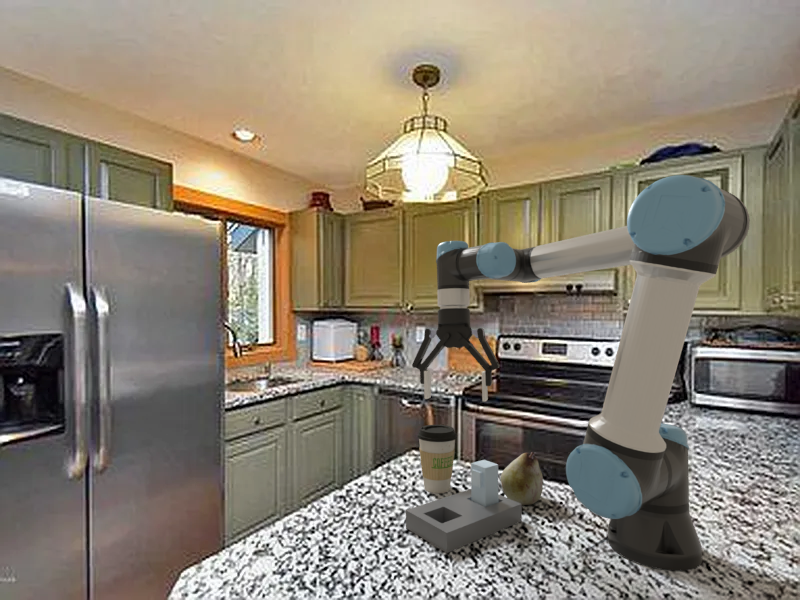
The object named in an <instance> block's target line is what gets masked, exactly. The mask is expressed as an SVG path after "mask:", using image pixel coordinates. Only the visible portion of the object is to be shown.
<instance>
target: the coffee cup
mask: <svg viewBox="0 0 800 600" xmlns="http://www.w3.org/2000/svg"><path fill="white" fill-rule="evenodd" d="M416 438H417V439H418V441H419V442H418V443H419V448H418V450H419V457H420V458H419V459H420V464H421V465H420V467H421V475H422V479H423V488H424V490H425V491H426V492H428V493H432V494H444V493H447V492H449V491H450V489H451V483H452V482H451V481H452V476H453V468H454V461H455V460H454V459H455V446H456V445H455V443H456V440H457V438H458V436H457V433H456V432H455V428H454V427H453V426H450V425H444V424H428V425H423V426H421V427H420V428H419V431H418V432H417V436H416Z"/></svg>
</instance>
